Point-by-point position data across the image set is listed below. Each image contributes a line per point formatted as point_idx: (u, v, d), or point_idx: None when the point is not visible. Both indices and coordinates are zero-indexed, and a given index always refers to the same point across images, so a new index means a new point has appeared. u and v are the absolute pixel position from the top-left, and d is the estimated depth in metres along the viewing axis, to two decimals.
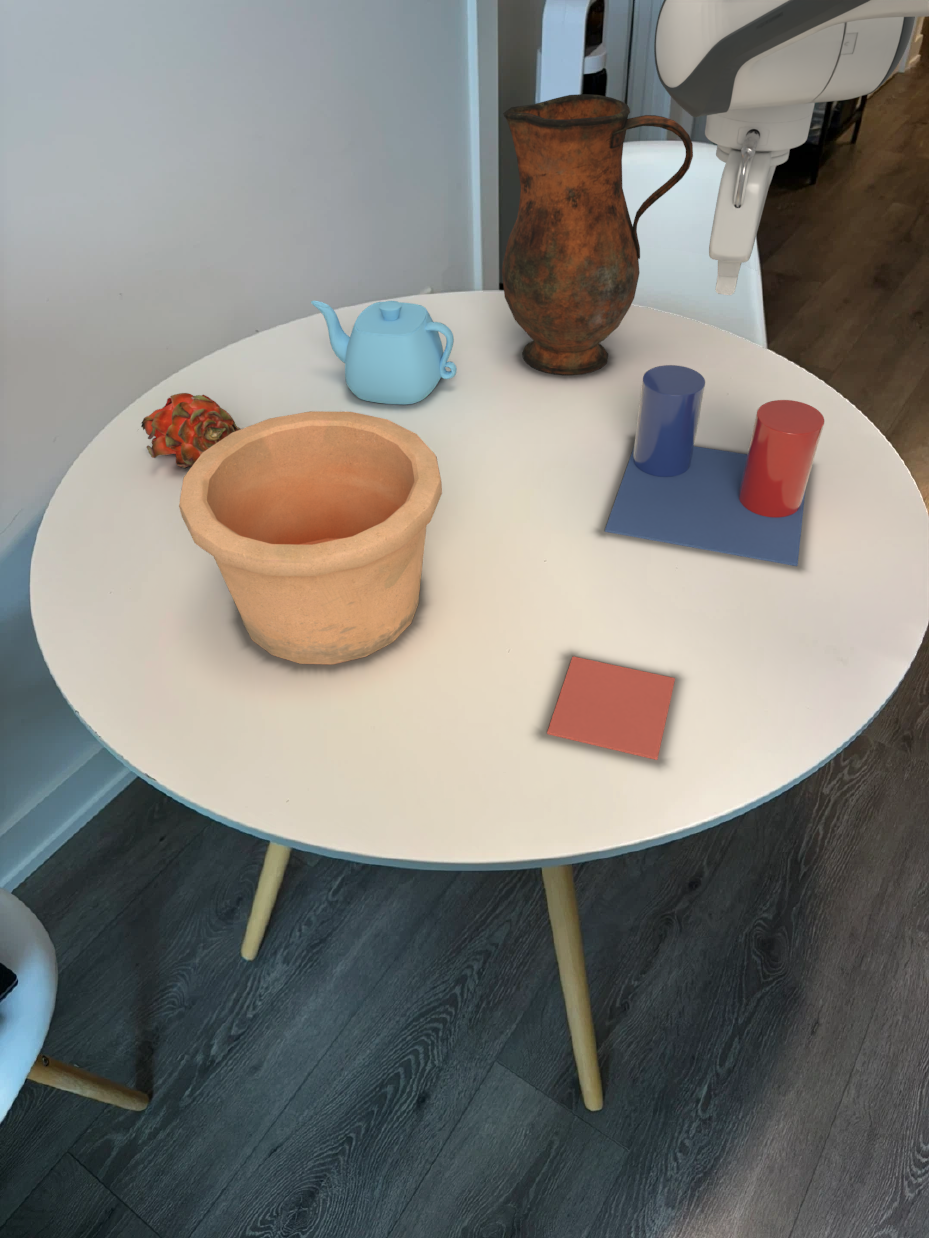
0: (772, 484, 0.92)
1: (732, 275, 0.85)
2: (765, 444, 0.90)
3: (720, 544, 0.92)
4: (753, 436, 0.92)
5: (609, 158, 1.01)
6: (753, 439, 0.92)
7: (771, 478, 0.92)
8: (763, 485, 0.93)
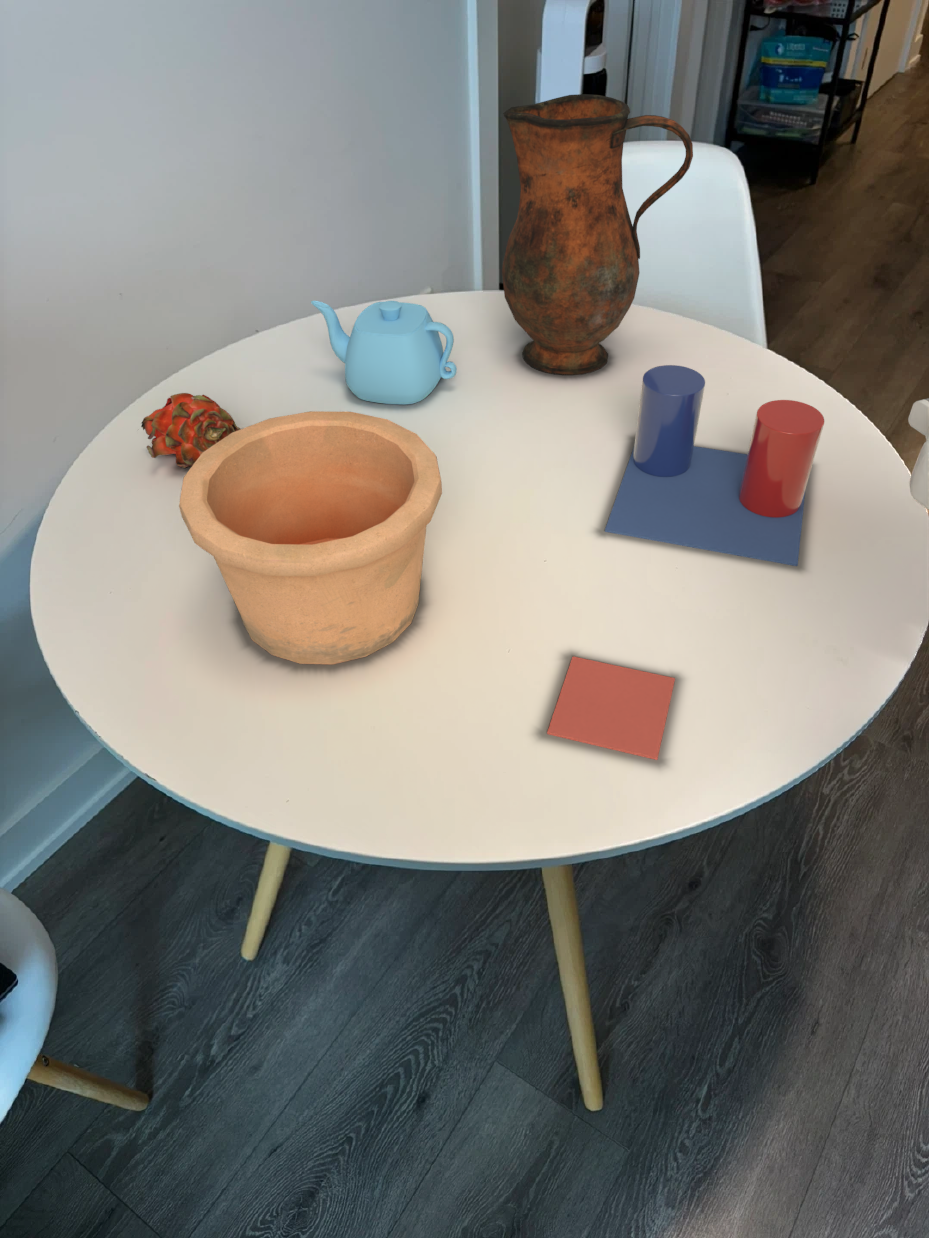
0: (772, 484, 0.92)
1: None
2: (765, 444, 0.90)
3: (720, 544, 0.92)
4: (753, 436, 0.92)
5: (609, 158, 1.01)
6: (753, 439, 0.92)
7: (771, 478, 0.92)
8: (763, 485, 0.93)
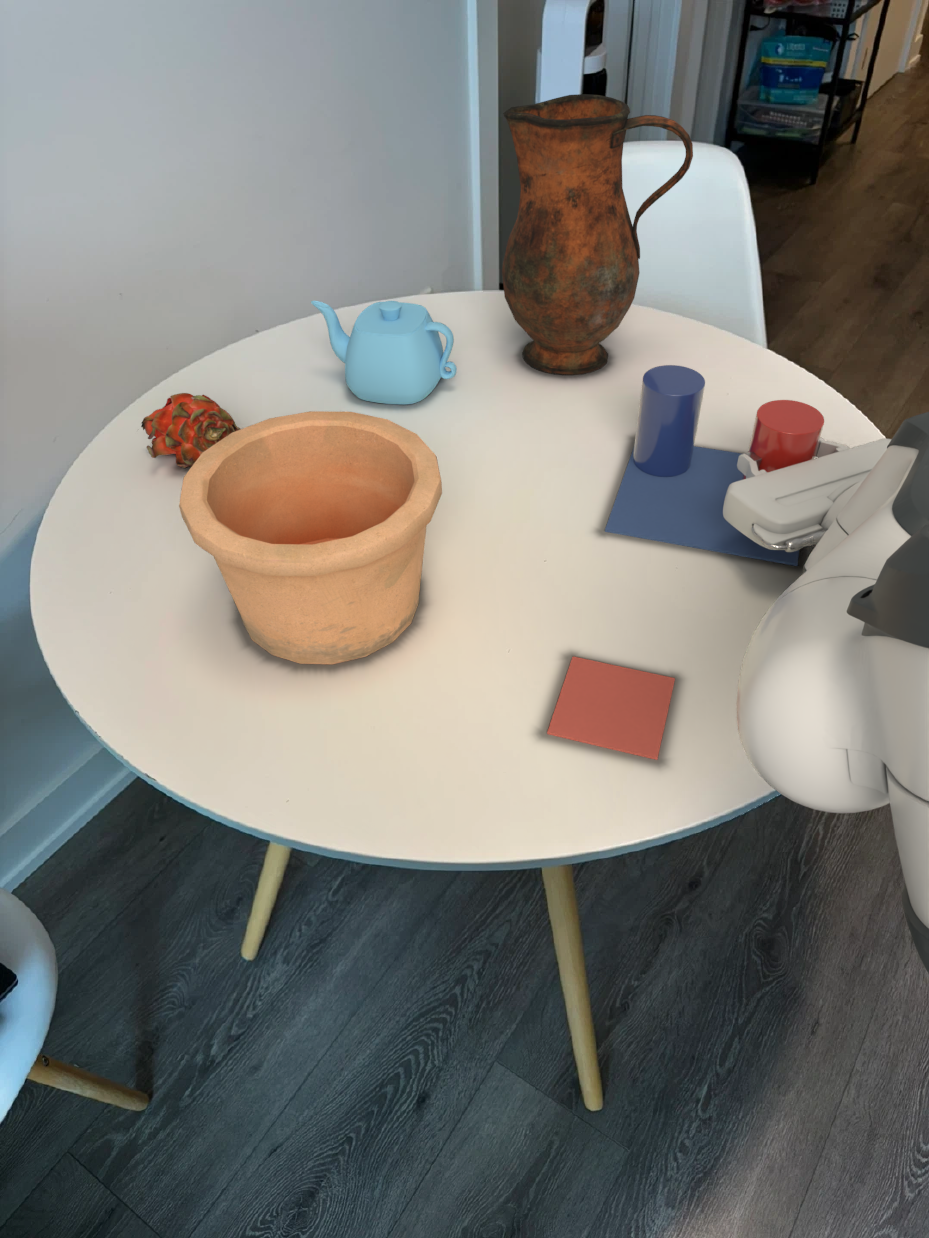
0: None
1: (747, 474, 0.92)
2: (765, 444, 0.90)
3: (720, 544, 0.92)
4: (753, 436, 0.92)
5: (609, 158, 1.01)
6: (753, 439, 0.92)
7: None
8: None
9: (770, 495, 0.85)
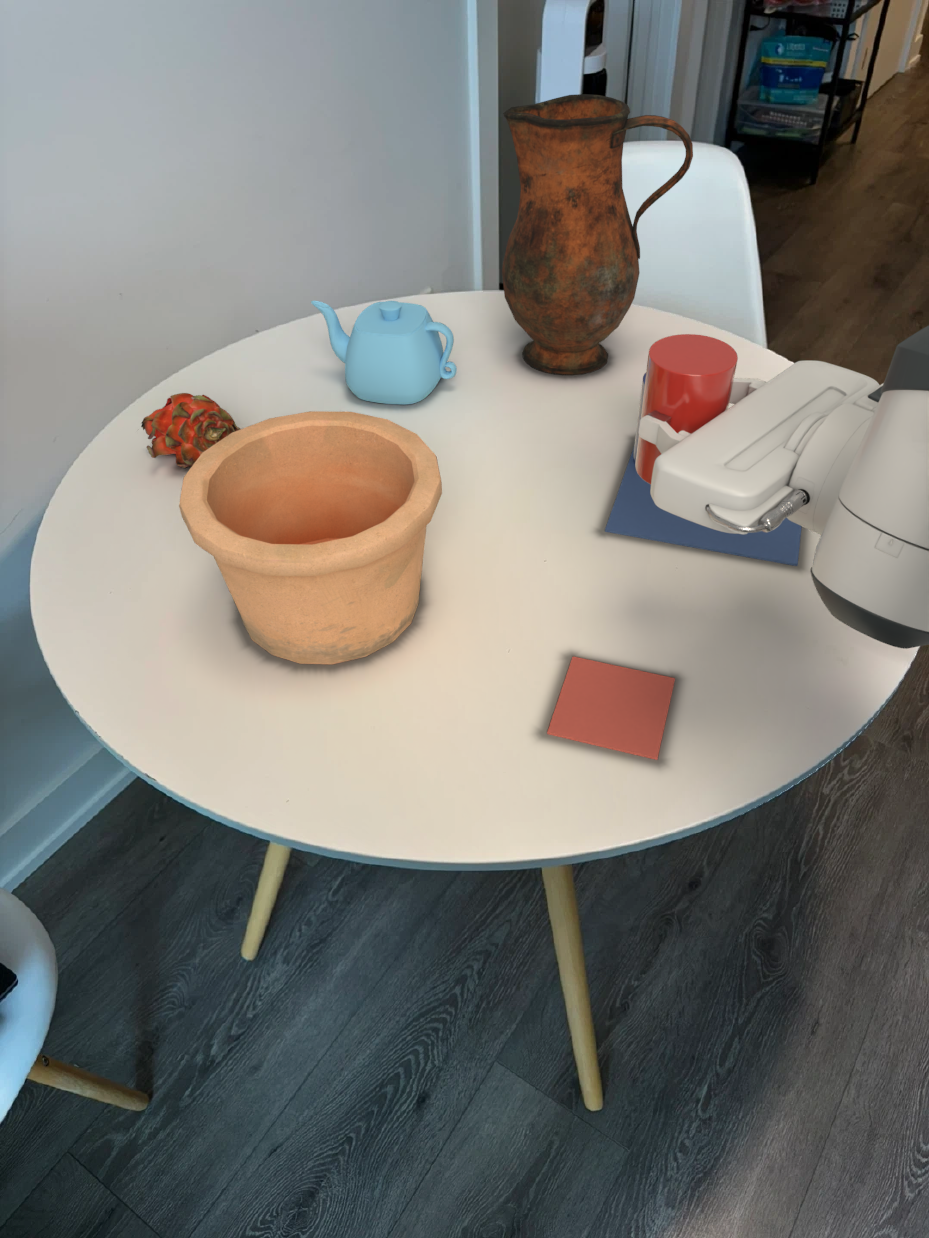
0: None
1: (658, 442, 0.68)
2: (674, 397, 0.67)
3: (720, 544, 0.92)
4: (651, 390, 0.68)
5: (609, 158, 1.01)
6: (652, 394, 0.68)
7: None
8: None
9: (716, 461, 0.62)
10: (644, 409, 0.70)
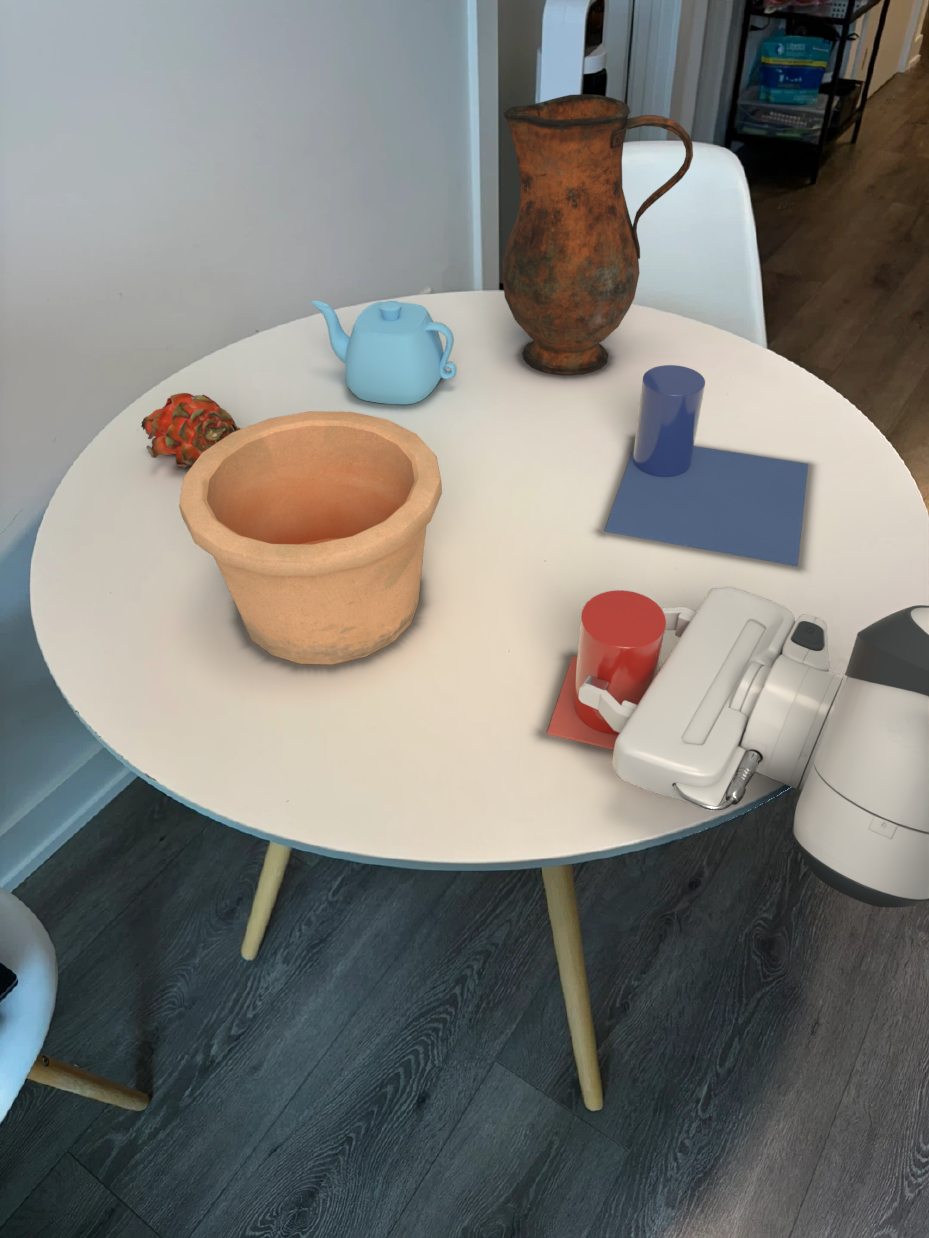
0: (630, 700, 0.72)
1: (600, 708, 0.69)
2: (614, 664, 0.69)
3: (720, 544, 0.92)
4: (589, 656, 0.70)
5: (609, 158, 1.01)
6: (590, 659, 0.70)
7: (627, 695, 0.72)
8: None
9: (673, 736, 0.65)
10: (582, 668, 0.72)
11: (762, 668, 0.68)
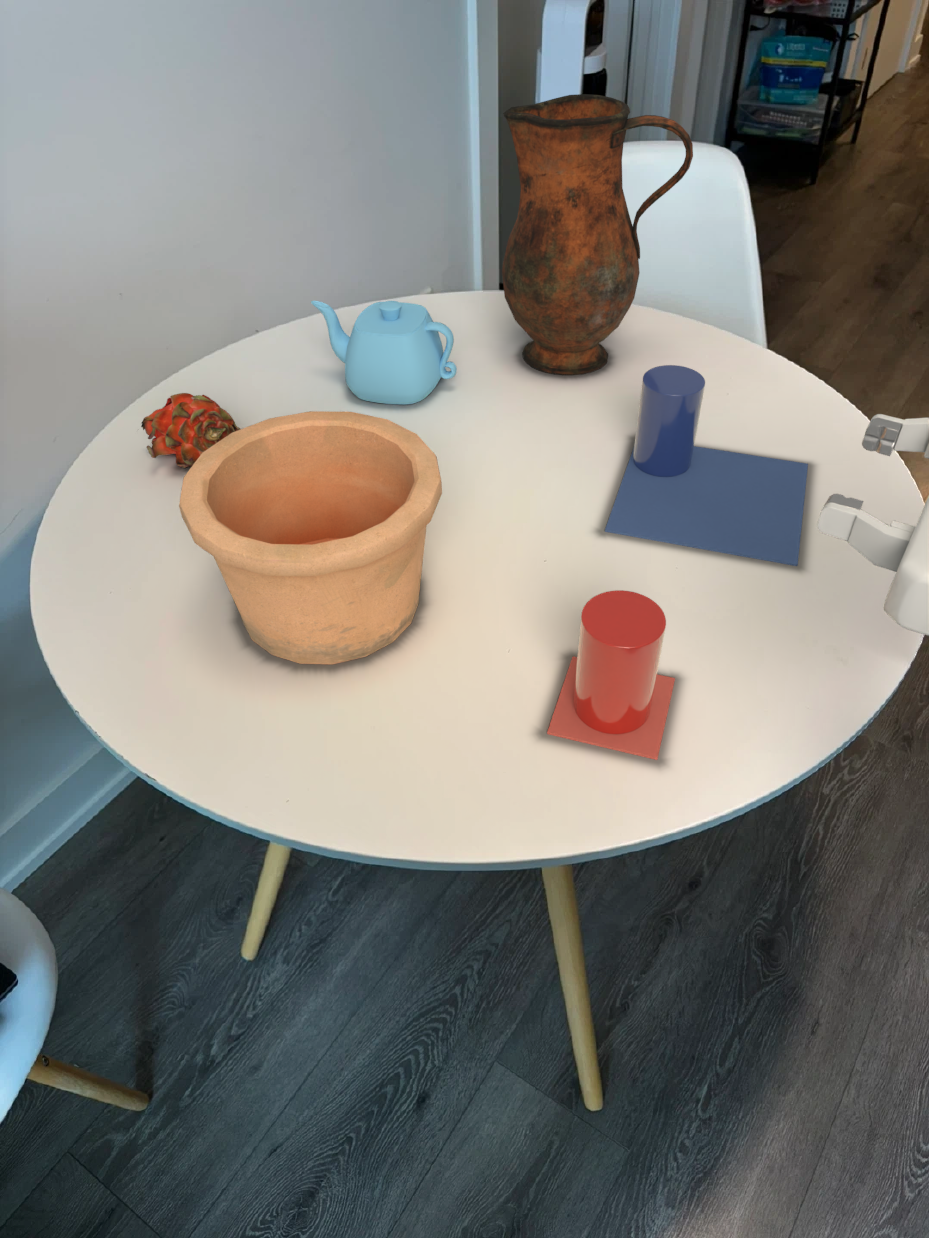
0: (630, 700, 0.72)
1: (852, 537, 0.49)
2: (614, 664, 0.69)
3: (720, 544, 0.92)
4: (589, 656, 0.70)
5: (609, 158, 1.01)
6: (590, 659, 0.70)
7: (627, 695, 0.72)
8: (619, 705, 0.72)
9: None
10: (582, 668, 0.72)
11: None
